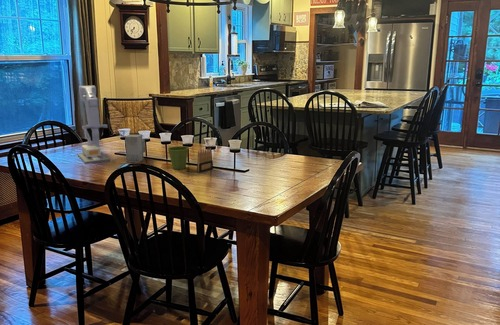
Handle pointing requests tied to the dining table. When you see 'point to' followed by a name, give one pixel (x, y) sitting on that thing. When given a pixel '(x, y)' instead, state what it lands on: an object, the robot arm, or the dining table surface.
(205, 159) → the ammunition clip
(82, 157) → the rail board
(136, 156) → the circuit breaker
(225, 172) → the dining table surface
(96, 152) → the module
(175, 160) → the plant pot
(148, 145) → the dining table surface
